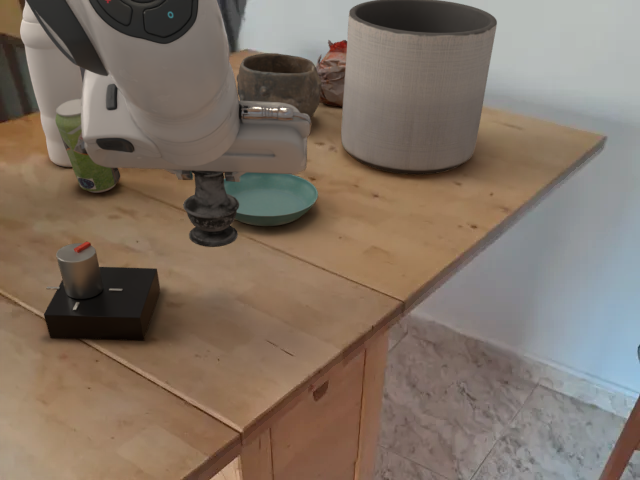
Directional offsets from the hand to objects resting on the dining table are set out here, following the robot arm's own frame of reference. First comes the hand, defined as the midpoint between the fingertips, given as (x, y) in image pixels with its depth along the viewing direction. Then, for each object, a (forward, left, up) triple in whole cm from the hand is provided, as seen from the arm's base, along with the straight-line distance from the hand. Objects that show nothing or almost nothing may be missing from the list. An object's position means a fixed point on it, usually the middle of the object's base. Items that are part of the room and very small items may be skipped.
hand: (209, 173), depth 71 cm
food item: (+15, +71, -15) cm, 74 cm away
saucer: (+4, +22, -15) cm, 27 cm away
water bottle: (-27, +37, -15) cm, 48 cm away
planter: (+26, +45, -15) cm, 54 cm away
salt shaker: (0, -1, -7) cm, 7 cm away
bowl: (+4, +56, -15) cm, 58 cm away
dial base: (-12, -5, -14) cm, 19 cm away
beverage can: (-21, +27, -15) cm, 38 cm away
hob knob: (-14, -5, -11) cm, 19 cm away
